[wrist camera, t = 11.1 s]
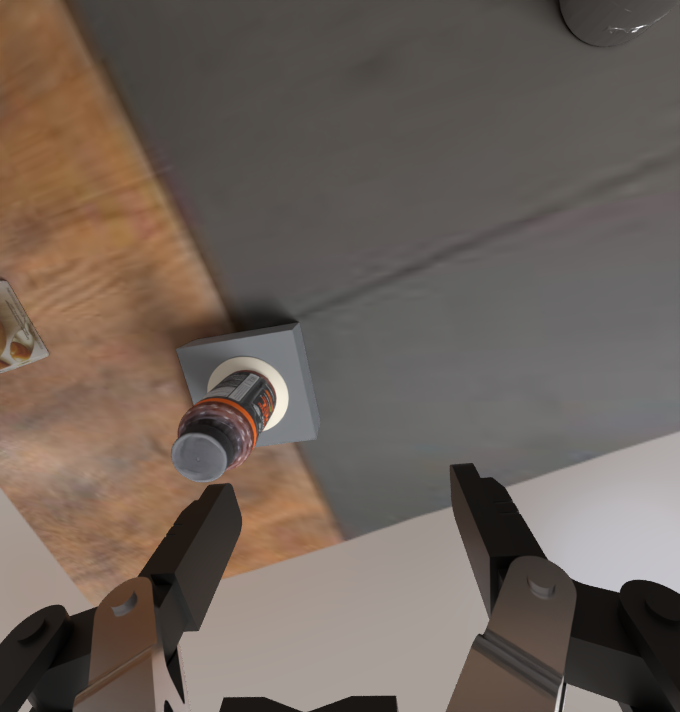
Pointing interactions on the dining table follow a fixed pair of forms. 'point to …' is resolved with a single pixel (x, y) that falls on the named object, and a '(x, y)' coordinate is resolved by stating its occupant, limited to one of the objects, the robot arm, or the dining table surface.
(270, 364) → the base block
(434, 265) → the dining table surface
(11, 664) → the robot arm
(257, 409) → the supplement bottle
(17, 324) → the coffee box
